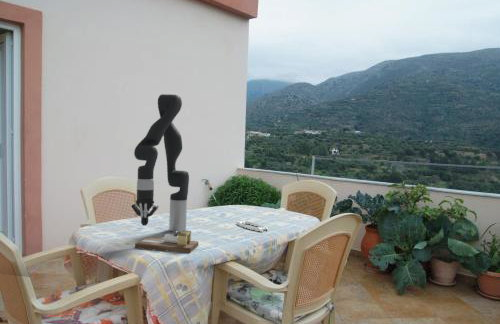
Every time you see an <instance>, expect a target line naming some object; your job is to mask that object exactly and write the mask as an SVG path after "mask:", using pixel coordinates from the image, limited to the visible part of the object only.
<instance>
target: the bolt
mask: <svg viewBox="0 0 500 324" xmlns="http://www.w3.org/2000/svg"><path fill="white" fill-rule="evenodd" d="M178 233H179V232H178V231H174V232H173V233H172V234H170V233H166V234H164V236H163V237H164V242H170V243H177V239H178Z"/></svg>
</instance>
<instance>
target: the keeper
mask: <svg viewBox="0 0 500 324" xmlns="http://www.w3.org/2000/svg"><path fill="white" fill-rule="evenodd" d="M191 241H192V230H185V231H184V230H183V231H181V232H178V239H177V246H187V243H191Z"/></svg>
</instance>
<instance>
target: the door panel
mask: <svg viewBox="0 0 500 324" xmlns="http://www.w3.org/2000/svg"><path fill="white" fill-rule="evenodd" d="M197 247H199V240H198V241H197V240H196V241H195V240H191V243H187V246H177V243H170V242H164V238H161V237H150V236H146V237H145V238H142V239H140V240H138V241H137V242H136V243H134V249H142V248H144V250H153V249H155V251H164V250H168V251H167V252H175V251H178V253H189V254H191V253H192V252H193V251H194V250H195V249H197Z"/></svg>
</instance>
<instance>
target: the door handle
mask: <svg viewBox="0 0 500 324" xmlns="http://www.w3.org/2000/svg"><path fill="white" fill-rule="evenodd" d="M246 224H250V225H246ZM235 225H237V226H238V225H239V227H241V228H243V227H244V228H243V229H246V228H247V229H246V230H249V229H250V231H253V230H255V231H254V232H256V231H260V232H259V233H263V232H264V231H265V230H267V231H268V232H269V231H270V230H269V228H268V227H267V226H265V225H262V224H259V223H257V222H251V221H248V220H245V219H244V220H241V221H239V220H236V221H235ZM252 225H254V226H252ZM255 226H258V227H255ZM259 227H261V228H259ZM262 230H263V231H262ZM267 231H266V232H267Z"/></svg>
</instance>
